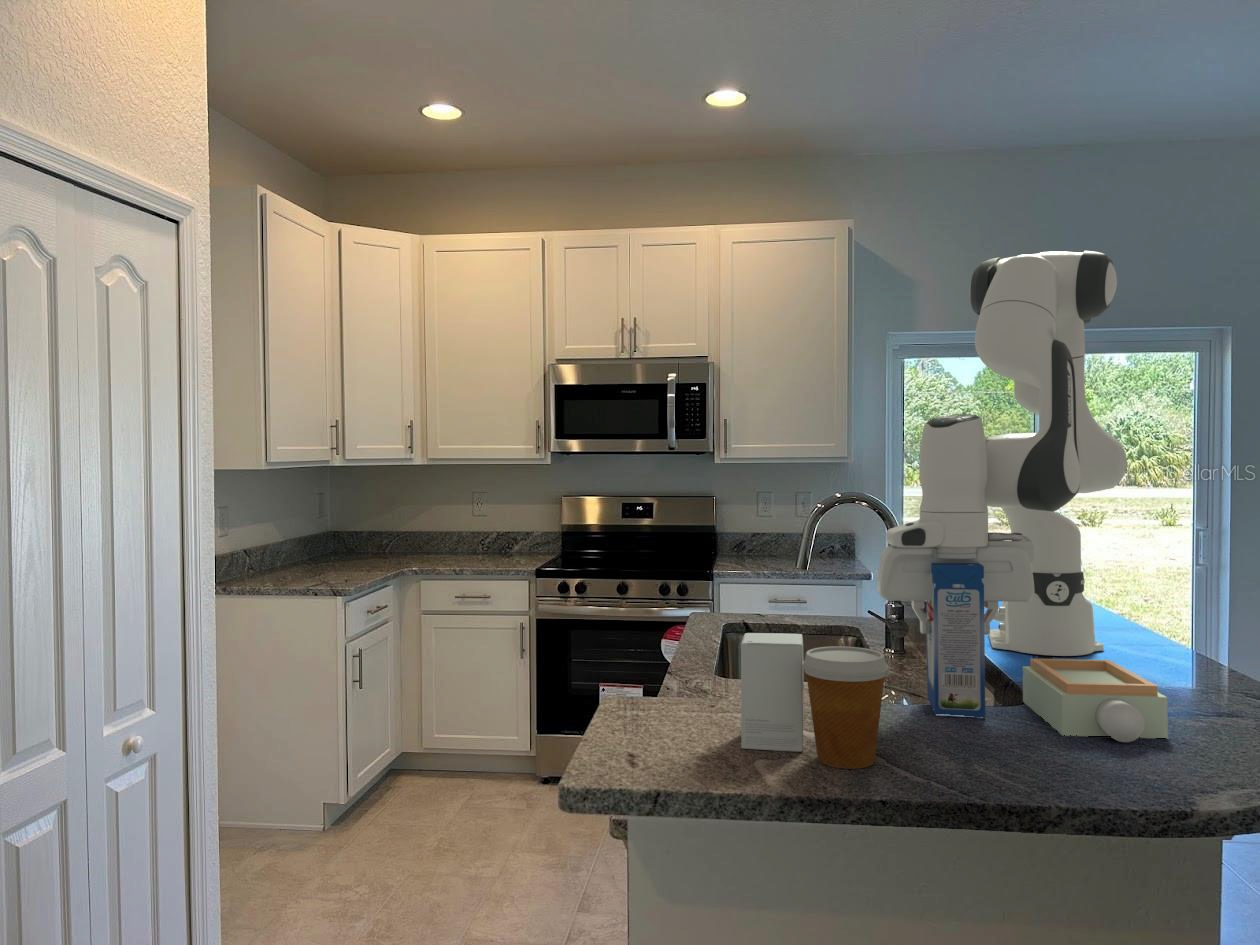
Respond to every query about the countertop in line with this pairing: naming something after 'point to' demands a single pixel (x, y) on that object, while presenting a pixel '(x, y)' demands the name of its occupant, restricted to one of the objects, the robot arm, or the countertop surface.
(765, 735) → the supplement box
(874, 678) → the disposable coffee cup
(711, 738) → the countertop surface
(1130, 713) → the framed green panel box
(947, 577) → the milk carton
